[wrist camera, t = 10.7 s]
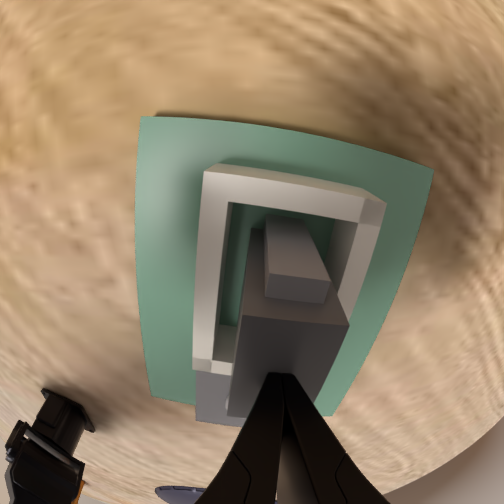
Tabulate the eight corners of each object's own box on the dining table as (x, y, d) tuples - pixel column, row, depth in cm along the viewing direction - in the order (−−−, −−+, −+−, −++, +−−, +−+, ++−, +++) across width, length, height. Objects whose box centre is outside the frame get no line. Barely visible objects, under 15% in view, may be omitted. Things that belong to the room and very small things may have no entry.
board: (329, 403, 21) (336, 444, 17) (156, 382, 21) (141, 424, 17) (420, 165, 13) (468, 180, 9) (152, 117, 13) (110, 114, 9)
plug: (285, 338, 16) (293, 439, 10) (235, 332, 16) (223, 434, 10) (314, 221, 13) (358, 302, 7) (253, 211, 13) (246, 288, 7)
